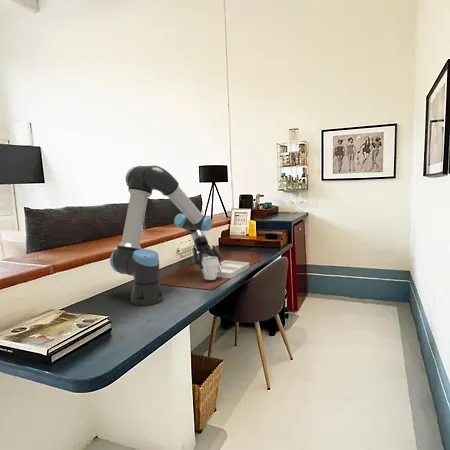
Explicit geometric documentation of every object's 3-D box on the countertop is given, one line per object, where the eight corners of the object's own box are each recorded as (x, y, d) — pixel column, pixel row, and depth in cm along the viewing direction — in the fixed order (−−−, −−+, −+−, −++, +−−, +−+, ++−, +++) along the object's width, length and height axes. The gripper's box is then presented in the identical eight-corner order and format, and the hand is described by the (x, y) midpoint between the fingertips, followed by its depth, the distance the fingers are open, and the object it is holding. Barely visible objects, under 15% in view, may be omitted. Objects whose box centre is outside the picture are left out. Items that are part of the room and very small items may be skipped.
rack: (230, 278, 203) (230, 273, 203) (204, 275, 210) (204, 270, 210) (249, 267, 228) (249, 262, 227) (225, 264, 235) (225, 260, 235)
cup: (216, 281, 194) (216, 259, 193) (200, 280, 196) (200, 259, 195) (219, 277, 203) (219, 256, 202) (204, 276, 205) (204, 255, 203)
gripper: (214, 242, 216) (227, 273, 204) (181, 245, 205) (193, 278, 193) (218, 234, 211) (232, 266, 199) (184, 237, 200) (197, 271, 188)
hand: (213, 272), depth 196 cm, fingers closed on cup, 9 cm apart
